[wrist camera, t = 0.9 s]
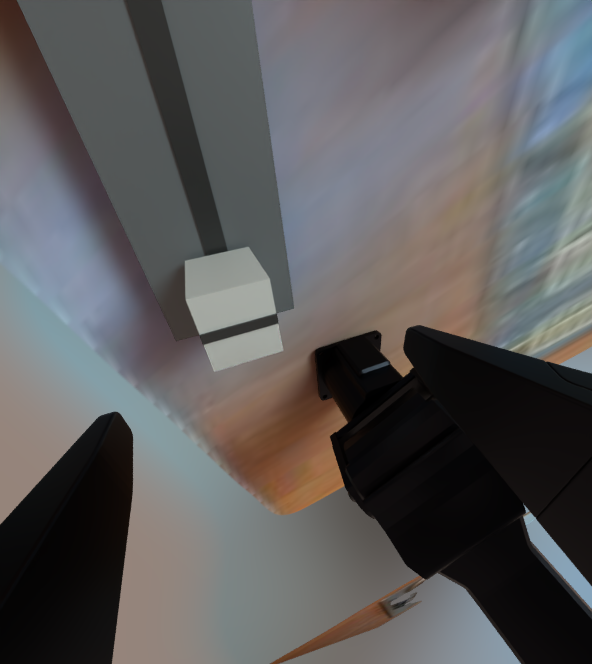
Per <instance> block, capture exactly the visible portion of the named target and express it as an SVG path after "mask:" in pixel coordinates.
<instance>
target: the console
mask: <svg viewBox="0 0 592 664" xmlns="http://www.w3.org/2000/svg"><path fill="white" fill-rule="evenodd" d="M17 2H18V4H19V6H20V8H21V10H22V12H23V15H24V17H25V19H26V21H27V23H28V25H29V27H30V30H31V32H32V34H33V36H34V38H35V40H36V42H37V44H38V47H39V49H40V51H41V53H42V55H43V57H44V59H45V62H46V64H47V66H48V68H49V70H50V72H51V74H52V77H53V79H54V81H55V83H56V85H57V87H58V89H59V92H60V94H61V96H62V98H63V100H64V102H65V104H66V107H67V109H68V111H69V113H70V115H71V117H72V119H73V121H74V124H75V126H76V128H77V130H78V132H79V134H80V136H81V139H82V141H83V143H84V145H85V147H86V149H87V151H88V154H89V156H90V158H91V160H92V162H93V164H94V166H95V169H96V171H97V173H98V175H99V177H100V179H101V181H102V184H103V186H104V188H105V190H106V192H107V194H108V196H109V199H110V201H111V203H112V205H113V207H114V209H115V211H116V213H117V216H118V218H119V220H120V222H121V224H122V226H123V228H124V231H125V233H126V235H127V237H128V239H129V241H130V243H131V246H132V248H133V250H134V252H135V254H136V256H137V258H138V261H139V263H140V265H141V267H142V269H143V271H144V273H145V276H146V278H147V280H148V282H149V284H150V286H151V288H152V290H153V293H154V295H155V297H156V299H157V301H158V303H159V305H160V308H161V310H162V312H163V314H164V316H165V318H166V320H167V323H168V325H169V327H170V329H171V331H172V333H173V335H174V338H175V340H176V341H179V340H182V339H186V338H189V337H193V336H197V335H199V332H198V330H197V327H196V325H195V322H194V320H193V317H192V315H191V312H190V310H189V307H188V305H187V302H186V297H185V261H186V260H191V259H195V258H200V257H204V256H209V255H213V254H218V253H222V252H227V251H231V250H236V249H240V248H245V247H249V248H250V250H251V251H252V253H253V254H254V256H255V257H256V259H257V260H258V262H259V263H260V265H261V266H262V268H263V269H264V271H265V272H266V274H267V275H268V277H269V278H270V282H271V288H272V293H273V298H274V304H275V309H276V313H279V312H283V311H286V310H290V309H294V303H293V296H292V289H291V282H290V274H289V267H288V260H287V253H286V246H285V239H284V231H283V224H282V217H281V210H280V203H279V196H278V188H277V181H276V174H275V167H274V160H273V153H272V146H271V138H270V131H269V124H268V117H267V110H266V103H265V95H264V88H263V81H262V74H261V67H260V60H259V53H258V45H257V38H256V31H255V24H254V17H253V10H252V2H251V0H17Z"/></svg>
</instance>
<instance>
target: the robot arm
mask: <svg viewBox="0 0 592 664" xmlns="http://www.w3.org/2000/svg"><path fill="white" fill-rule="evenodd" d="M380 348H381V333H380V332H379V331H377V330H376V331H372V332H369V333H366V334H363V335H359V336H356V337H353V338H350V339H347V340H343V341H340V342H337V343H334V344H331V345H328V346H324V347H321V348H319V349H317V350H316V351H315V362H316V371H317V381H318V391H319V397H320V399H321V400H327V399H330V398H332V397H333V399H334V400H335V402H336V404H337V405H338V407H339V409H340V410H341V412H342V414H343V415H344V417H345V419H346V420H347V422H348V423H347V424H346V425H345V426H344V427H343V428H341V429H340V430H339V431H338V432H335V433H333V434H332V435H331V436H330V438H331V441H332V445H333V446H332V447H333V450H334V453H335V456H336V460H337V463H338V466H339V469H340V472H341V475H342V479H343V482H344V485H345V488H346V490H347V491H348V495H349V497H350V499H351V500H352V501H354V502H356V503H357V504H358V505H359V506H360V508H361V509H362V510H363V511H364V512H365V513H366V514H367V515H368V516H370V517H371V518H373V519H376V520H377V521H378V523H379V524H380V525H381V527H382V528H383V529H384V531H385V532H386V534H387V535H388V537H389V538H390V540H391V542H392V543H393V545H394V546H395V548H396V550H397V551H398V553H399V554H400V556H401V558H402V559H403V561H404V562H405V564H406V565H407V566H408V567H409V568H410V569H412V570H413V571H414V572H416V573H418V574H419V575H420V576H421V577H422V578H424V579H429V578H430V577H432V576H433V575H435V574H436V573H439V574H441V575H442V576H444V577H446V578H448V579H449V580H451V581H453V582H455V583H457V584H458V585H460V586H462V587H464V588H465V589H466V590H467V591H468V593H469V594H470V595H471V597H472V598H473V599H474V601H475V602H476V603H477V605H478V606H479V607H480V609H481V610H482V611H483V613H484V614H485V615H486V617H487V618H488V619H489V621H490V622H491V623H492V625H493V626H494V627H495V629H496V630H497V632H498V633H499V634H500V636H501V637H502V638H503V639H504V641H505V642H506V644H507V645H508V646H509V648H510V649H511V650H512V652H513V653H514V655H515V656H516V657H517V659H518V660H519V661H520V663H521V664H592V609H591V608H590V607H589V605H587V603H586V602H585V601H584V600H583V599H582V598H581V597H580V595H579V594H578V593H577V592H576V591H575V590H574V589H573V588H572V587H571V585H570V584H569V583H568V582H567V581H566V580H565V579H564V578H563V577H562V575H561V574H560V573H559V572H558V571H557V570H556V569H555V568H554V567H553V566H552V564H551V563H550V562H549V561H548V560H547V559H546V558H545V556H544V555H543V554H542V553H541V552H540V551H539V550H538V549H537V548H536V546H535V545H534V544H533V543H532V542H531V541H530V539H529V535H528V532H527V528H526V525H525V522H524V518H523V515H524V514H525V513H526V510H525V507H524V505H525V506H526V507H527V508H528V510H529V511H530V512H531V513H532V514H533V516H534V517H536V519H537V521H538V522H539V523H540V524H541V525H542V527H543V528H544V529H545V530H546V531H547V533H548V534H549V535H550V536H551V537H552V539H553V540H554V541H555V542H556V544H557V545H558V546H559V547H560V548H561V549H562V551H563V552H564V553H565V554H566V556H567V557H568V558H569V559H570V560H571V562H572V563H573V564H574V565H575V567H576V568H577V569H578V570H579V571H580V573H581V574H582V575H583V576H584V577H585V578H586V580H587V581H588V582H589V583H590V585H591V586H592V374H591V373H587V372H583V371H580V370H576V369H572V368H569V367H565V366H561V365H558V364H555V363H551V362H545V361H544V360H540V359H537V358H533V357H530V356H526V355H523V354H519V353H516V352H512V351H509V350H505V349H502V348H498V347H495V346H491V345H488V344H484V343H481V342H477V341H474V340H470V339H467V338H463V337H460V336H456V335H452V334H449V333H445V332H442V331H438V330H435V329H431V328H428V327H424V326H421V325H417V326H413V327H410V328H408V329H407V330H406V334H405V340H404V347H403V349H404V353H405V355H406V356H407V358H408V359H409V361H410V362H411V364H412V365H413V367H414V368H412V369H411V370H410V372H409V373H408V374H407V375H406V376H405V377H402V376H401V374H400V373H399V372H398V371H397V370H396V369H395V368H394V367H393V366H392V365H391V364H390V361H389V360H388V359H387V358H386V357H385V356H384V355H383V354H382V353H381V352H380ZM320 353H322V354H320ZM319 354H320V355H319ZM132 492H133V434H132V431H131V429H130V428H129V426H128V425H127V423H126V422H125V420H124V419H123V417H122V416H121V414H120V413H118V412H111V413H108V414H104V415H101V416H100V417H98V418H97V419H96V420H95V422H93V424H92V425H91V426H90V427H89V428H88V429H87V430H86V431H85V432H84V433H83V434H82V436H81V437H80V438H79V439H78V440H77V441H76V442H75V443H74V444H73V445H72V447H71V448H70V449H69V450H68V451H67V452H66V453H65V454H64V455H63V457H62V458H61V459H60V460H59V461H58V462H57V463H56V464H55V465H54V467H52V469H51V470H50V471H49V472H48V473H47V474H46V475H45V476H44V477H43V478H42V480H41V481H40V482H39V483H38V484H37V485H36V486H35V487H34V488H33V489H32V491H31V492H30V493H29V494H28V495H27V496H26V497H25V498H24V499H23V500H22V501H21V502H20V504H19V505H18V506H17V507H16V508H15V509H14V510H13V511H12V513H10V515H9V516H8V517H7V518H6V519H5V520H4V521H3V522H2V523H1V524H0V664H112V657H113V649H114V641H115V633H116V625H117V616H118V609H119V601H120V593H121V584H122V575H123V568H124V559H125V552H126V543H127V535H128V527H129V519H130V511H131V502H132ZM523 504H524V505H523Z"/></svg>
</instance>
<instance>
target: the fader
mask: <svg viewBox="0 0 592 664" xmlns="http://www.w3.org/2000/svg"><path fill="white" fill-rule="evenodd" d="M185 297H186V302H187V305H188V307H189V310H190V312H191V315H192V317H193V320H194V322H195V325H196V327H197V330H198V332H199V335H200V338H201V341H202V343H203V345H204V347H205V350H206V352H207V355H208V357H209V360H210V362H211V365H212V367H213V370H214V372H216V371H219V370H223V369H226V368H229V367H232V366H236V365H239V364H242V363H245V362H249V361H252V360H255V359H258V358H262V357H265V356H268V355H271V354H275V353H278V352H281V351H283V347H282V341H281V336H280V331H279V325H278V318H277V314H276V309H275V304H274V298H273V293H272V288H271V282H270V278H269V277H268V275H267V274H266V272H265V271H264V269H263V268H262V266H261V265H260V263H259V262H258V260H257V259H256V257H255V256H254V254H253V253H252V251H251V250H250V248H249V247H245V248H240V249H236V250H231V251H227V252H222V253H218V254H213V255H209V256H204V257H200V258H195V259H191V260H186V261H185Z"/></svg>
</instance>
